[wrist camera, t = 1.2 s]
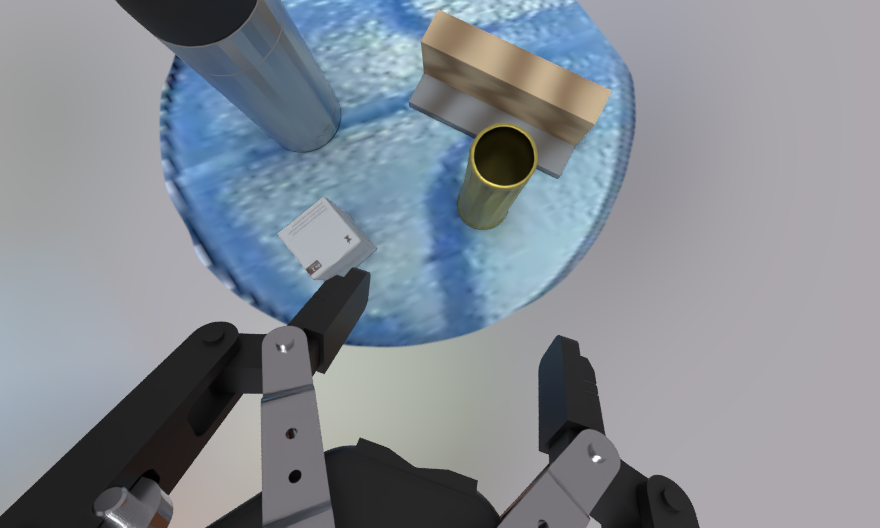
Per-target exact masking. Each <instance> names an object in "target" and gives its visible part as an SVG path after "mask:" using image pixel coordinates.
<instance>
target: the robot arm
mask: <svg viewBox="0 0 880 528" xmlns="http://www.w3.org/2000/svg"><path fill="white" fill-rule="evenodd" d="M116 1H117V3H118V4H119V5H120V6H121V7H122V8H123V9H124V10H125V11H127V12H128V13H129V14H130V15H131V16H132V17H133V18H134V19H135V20H137V21H138V22H139V23H140V24H141V25H142V26H144V27H145V28H146V29H147V30H148V31H149V32H151V33H152V34H153V35H154V36H155V37H156V38H157V39H158V40H160V41H161V42H162V43H163V44H164V45H166V46H167V47H168V48H169V49H170V50H171V51H172V52H173V53H175V54H176V55H177V56H178V57H179V58H180V59H182V60H183V61H184V62H185V63H186V64H188V65H189V66H190V67H191V68H192V69H193V70H195V71H196V72H197V73H198V74H199V75H200V76H201V77H203V78H204V79H205V80H206V81H207V82H208V83H209V84H211V85H212V86H213V87H214V88H215V89H216V90H218V91H219V92H220V93H221V94H222V95H223V96H224V97H226V98H227V99H228V100H229V101H230V102H231V103H233V104H234V105H235V106H236V107H237V108H238V109H239V110H241V111H242V112H243V113H244V114H245V115H246V116H247V117H249V118H250V119H251V120H252V121H253V122H254V123H256V124H257V125H258V126H259V127H260V128H261V129H262V130H263V131H265V132H266V133H267V134H268V135H269V136H270V137H272V138H273V139H274V140H275V141H276V142H278V143H279V144H280V145H281V146H283V147H285V148H287V149H289V150H292V151H297V152H306V151H312V150H315V149H318V148H320V147H321V146H323V145H325V144H326V143H327V142H328V141H329V140H330V139H331V138H332V137H333V136H334V134H335V133H336V131H337V129H338V126H339V123H340V118H341V110H340V106H339V102H338V100H337V98H336V96H335V94H334V92H333V91H332V89H331V87H330V85H329V84H328V82H327V80H326V78H325V76H324V75H323V73H322V71H321V69H320V68H319V66H318V64H317V62H316V61H315V59H314V57H313V55H312V54H311V52H310V50H309V48H308V47H307V45H306V43H305V41H304V40H303V38H302V36H301V35H300V33H299V31H298V29H297V28H296V26H295V24H294V22H293V21H292V19H291V17H290V15H289V14H288V12H287V10H286V8H285V7H284V5H283V3H282V1H281V0H116ZM369 285H370V272H367V271H364V270H361V269H358V268H355V267H352V268H351V269H350V270H349V271H348V273H347V274H346V275H345V276H344V277H342V276H339V275H335V276H333V277H332V278H330V279H328V280H326V281H325V282H324V283H323V284H322V286H321V287H320V288H319V289H318V291H316V293H315V294H314V295H313V297H312V298H310V300H309V301H308V302H307V303H306V304H305V305H304V307H303V308H302V309H301V310H300V311H299V312H298V314H297V315H296V316H295V317H294V318H293V319H292V321H291V322H290V323H289V324H288V325H287V326H283V327H279V328H276V329H274V330H272V331H271V332H269V333H268V334H243V333H238V330H237V328H236V327H235V326H234V325H233V324H231V323H228V322H212V323H209V324H206V325H204V326H202V327H200V328H198V329H197V330H196V331H194V332H193V333H192V334H191V335H190V336H189V337H188V338H187V339H186V340H185V341H184V342H183V343H182V344H181V345H180V346H179V347H178V348H176V349H175V350H174V351H173V352H172V353H171V354H170V355H169V356H168V357H167V358H166V359H165V360H164V361H163V362H162V363H161V364H160V365H159V366H158V367H157V368H156V369H155V370H153V371H152V372H151V373H150V374H149V375H148V376H147V377H146V378H145V379H144V380H143V381H142V382H141V383H140V384H139V385H138V386H137V387H136V388H135V389H134V390H132V391H131V392H130V393H129V394H128V395H127V396H126V397H125V398H124V399H123V400H122V401H121V402H120V403H119V404H118V405H117V406H116V407H115V408H114V409H113V410H111V411H110V412H109V413H108V414H107V415H106V416H105V417H104V418H103V419H102V420H101V421H100V422H99V423H98V424H97V425H96V426H95V427H94V428H93V429H91V430H90V431H89V432H88V434H86V435H85V436H84V437H83V438H82V439H81V440H80V441H79V442H78V443H77V444H76V445H75V446H74V447H73V448H72V449H71V450H70V451H69V452H68V453H66V454H65V455H64V456H63V457H62V458H61V459H60V460H59V461H58V462H57V463H56V464H55V465H54V466H53V467H52V468H51V469H50V470H49V471H47V472H46V473H45V474H44V475H43V476H42V477H41V478H40V479H39V480H38V481H37V482H36V483H35V484H34V485H33V486H32V487H31V488H30V489H29V490H28V491H27V492H25V493H24V494H23V495H22V496H21V497H20V498H19V499H18V500H17V501H16V502H15V503H14V504H13V505H12V506H11V507H10V508H9V509H8V510H7V511H5V513H3V514H2V515H1V516H0V528H167V527H168V525H169V523H170V521H171V518H172V515H173V503H172V500H171V499H170V497H169V496H168V495H169V494H170V493H171V491H172V490H173V488H174V487H175V486H176V484H177V483H178V482H179V480H180V479H181V478H182V476H183V475H184V474H185V472H186V471H187V469H188V468H189V467H190V465H191V464H192V463H193V461H194V460H195V459H196V457H197V456H198V455H199V453H200V452H201V450H202V449H203V448H204V446H205V445H206V444H207V442H208V441H209V440H210V438H211V437H212V435H213V434H214V433H215V431H216V430H217V429H218V427H219V426H220V425H221V423H222V422H223V421H224V419H225V418H226V417H227V415H228V414H229V412H230V411H231V410H232V408H233V407H234V406H235V404H236V403H237V402H238V400H239V399H240V398H241V396H242V395H243V393H245V394H247V393H250V394H263V398H262V399H261V448H262V450H261V452H262V491H261V492H260V493H258V494H257V495H256V496H254V497H252V498H251V499H249V500H248V501H246V502H244V503H243V504H241V505H240V506H238V507H237V508H235V509H234V510H232V511H231V512H229V513H227V514H226V515H224V516H223V517H221V518H220V519H218V520H217V521H215V522H213V523H212V524H210V525H209V526H207V527H206V528H586V527H587V525H588V523H589V521H590V518H589V515H590V516H591V517H592V518H594V519H595V520H596V521H598V522H599V523H600V524H601V526H602V528H700V527H699V524H698V520H697V517H696V513H695V510H694V507H693V505H692V503H691V501H690V499H689V498H688V496H687V495H686V494H685V492H684V491H683V490H682V489H681V488H680V487H679V486H678V485H677V484H676V483H675V482H674V481H672V480H671V479H669V478H667V477H665V476H662V475H654V476H651V477H650V478H647V477H645V476H644V475H642V474H641V473H639V472H638V471H637V470H635V469H634V468H632V467H631V466H629V465H628V464H626V463H625V462H624V461H622V460H621V459H620V457H619V454H618V452H617V449H616V448H615V447H614V445H613V443H612V442H611V441H610V440H609V439H608V438H607V437H606V435H605V431H604V425H603V419H602V413H601V407H600V402H599V396H598V389H597V386H596V378H595V372H594V369H593V368H592V366H591V364H590V362H589V360H588V359H587V358H585V357H582V356H580V351H579V343H578V342H577V341H575V340H572V339H569V338H566V337H563V336H560V335H557V336H556V338H555V339H554V340H553V342H552V344H551V345H550V346H549V348H548V350H547V351H546V352H545V354H544V356H543V357H542V359H541V362H540V365H539V375H538V376H539V451H540V452H543V453H546V454H549V464H548V465H547V466H546V467H545V468H544V469H543V471H541V472H540V474H539V475H538V476H537V477H536V478H535V479H534V480H533V481H532V483H531V484H530V485H529V486H528V487H527V488H526V489H525V490H524V491H523V492H522V494H521V495H520V496H519V497H518V498H517V499H516V500H515V501H514V502H513V503H512V504H511V505H510V506H509V507H508V508H507V509H506V511H505V512H504V513H503V514H502V515H501V516H499V515H498V513H497V512H496V511H495V509H494V507H493V506H492V505H491V504H490V502H489V501H488V500H487V499H486V498H485V497H484V496H483V495H482V494H481V493H479V492H478V491H477V482H478V481H477V480H475V479H472V478H469V477H467V476H464V475H461V474H458V473H456V472H453V471H450V470H444V469H428V468H416V467H414V466H412V465H411V464H410V463H408V462H407V461H406V460H404V459H403V458H401V457H400V456H399V455H397V454H396V453H395V452H393V451H392V450H390V449H389V448H387V447H384V446H382V445H379V444H376V443H374V442H371V441H368V440H365V439H363V438H359V441H358V443H357V445H356V446H341V447H337V448H333V449H330V450H327V451H325V452H323V444H322V437H321V430H320V423H319V417H318V409H317V402H316V395H315V389H314V386H313V380H312V377H313V375H314V374H315V372H316V371H318V372H320V373H323V374H325V372H326V371H327V369H328V368H329V366H330V364H331V363H332V361H333V360H334V358H335V356H336V355H337V353H338V352H339V350H340V348H341V347H342V345H343V344H344V342H345V340H346V339H347V337H348V336H349V334H350V332H351V331H352V329H353V328H354V326H355V324H356V323H357V321H358V320H359V318H360V316H361V315H362V313H363V312H364V310H365V307H366V305H367V301H368V296H369Z"/></svg>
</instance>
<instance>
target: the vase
mask: <svg viewBox="0 0 880 528" xmlns="http://www.w3.org/2000/svg"><path fill="white" fill-rule="evenodd" d="M537 162H538V154H537V147H536V144H535V142H534V140H533V138H532V137H531V135H530V134H529V133H528V132H527V131H526V130H524V129H523V128H521V127H519V126H517V125H515V124H512V123H496V124H493V125H491V126H489V127H487V128H485V129H484V130H482V131H481V132H480V133H479V134H478V135H477V137H476V138H475V140H474V141H473V143H472V144H471V147H470V150H469V158H468V164H467V169H466V173H465V179H464V183H463V186H462V189H461V191H460V193H459V196H458V201H457V207H458V212H459V214H460V216H461V218H462V219H463V221H464V222H465V223H466V224H468V225H469V226H471V227H473V228H476V229H481V230H485V229H491V228H493V227H496V226H497V225H499V224H500V223H501V222H502V221H503V220H504V219H505V217H506V215H507V213H508V209H509V208H510V206H511V205H512V203H513V202H514V200H515V199H516V198H517V196H518V195H519V193H520V192H521V190H522V189H523V188H524V186H525V185H526V184H527V182H528V181H529V179H530V178H531V176H532V175H533V173H534V172H535V170H536V167H537Z"/></svg>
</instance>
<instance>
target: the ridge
mask: <svg viewBox="0 0 880 528" xmlns="http://www.w3.org/2000/svg"><path fill="white" fill-rule="evenodd" d="M421 47H422V57H423V67H424V74H423V76H422V78H421V80H420V82H419V84H418V85H417V87H416V89H415V91H414V93H413V95H412V96H411V98H410V100H409V106H410V107H412V108H414V109H416V110H418V111H420V112H422V113H424V114H426V115H428V116H430V117H432V118H434V119H437V120H439V121H441V122H443V123H445V124H447V125H449V126H451V127H453V128H455V129H457V130H459V131H461V132H463V133H465V134H467V135H469V136H471V137H473V138H476V137H477V135H478V134H479V133H480V132H481V131H482V130H484V129H485V128H487V127H489V126H491V125H493V124H496V123H512V124H515V125H517V126H519V127H521V128H523V129H524V130H526V131H527V132H528V133H529V134H530V135H531V137H532V138H533V140H534V142H535V144H536V147H537V154H538V162H537V167H536V169H539V170H541V171H543V172H545V173H547V174H549V175H551V176H553V177H555V178H557V179H558V178H559V177H560V176H561V174H562V172H563V170H564V168H565V166H566V164H567V162H568V160H569V158H570V156H571V154H572V152H573V150H574V148H575V146H576V145H577V144H578V143H579V142H580V141H581V139H582V138H583V137H584V136H585V135H586V134H587V133H588V132H589V131H590V130H591V128H592V127H593V126H594V125H595V123H596V122H597V120H598V118H599V116H600V114H601V112H602V110H603V108H604V106H605V104H606V102H607V100H608V98H609V96H610V94H611V92H612V91H611V90H609V89H607V88H604V87H602V86H600V85H598V84H596V83H594V82H592V81H590V80H587V79H585V78H583V77H581V76H579V75H577V74H575V73H573V72H570V71H568V70H566V69H564V68H562V67H560V66H558V65H556V64H553V63H551V62H549V61H547V60H545V59H543V58H541V57H538V56H536V55H534V54H532V53H530V52H528V51H526V50H524V49H521V48H519V47H517V46H515V45H513V44H511V43H509V42H507V41H504V40H502V39H500V38H498V37H496V36H494V35H492V34H490V33H487V32H485V31H483V30H481V29H479V28H477V27H475V26H473V25H470V24H468V23H466V22H464V21H462V20H460V19H458V18H456V17H453V16H451V15H449V14H447V13H445V12H443V11H441V10H438V11H437V13H436V15H435V17H434V19H433V20H432V22H431V24H430V26H429V28H428V30H427V31H426V33H425V35H424V37H423V39H422V40H421Z"/></svg>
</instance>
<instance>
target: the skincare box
mask: <svg viewBox="0 0 880 528" xmlns="http://www.w3.org/2000/svg"><path fill="white" fill-rule="evenodd" d="M278 236H279V237H280V238H281V239H282V241H283V242H284V243H285V244H286V246H287V247H288V248H289V249H290V251H291V252H292V253H293V254H294V256H295V257H296V258H297V259H298V261H299V262H300V263H301V265H302V266H303V267H304V268H305V269H306V271H307V272H308V273H309V275H310V276H311V277H312V278H313V279H314V280H328V279H330V278H332V277H333V276H335V275H339V276H342V277H344V276H345V275H346V274H347V273H348V271H349V270H350V269H351V268H352V267H355V268H356V267H357V266H358V265H359V264H361V263H362V262H363V261H364V260H365V259H367V258H368V257H369V256H370V255H371V254H372V253H373V252H375V251H376V250H377V248H376V247H375V246H374V244H373V243H372V242H371V241H370V240H369V239H368V237H367V236H366V235H365V234H364V233H363V231H362V230H361V229H360V228H359V227H358V226H357V224H356V223H355V222H354V221H353V220H352V218H351V217H350V216H349V215H348V214H347V212H345V211H344V210H342V209H341V208H340V207H338V206H337V205H335V204H334V203H333V202H331V201H330V200H329V199H327V198H326V197H324V196H323V197H322V198H321V199H319V200H318V201H317V202H316V203H314V204H313V205H312V206H311V207H309V208H308V209H307V210H306V211H304V212H303V213H302V214H301V215H299V216H298V217H297V218H296V219H295V220H293V221H292V222H291V223H290V224H288V225H287V226H286V227H285V228H284V229H282V230H281V231H280V232H279V233H278Z"/></svg>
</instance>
